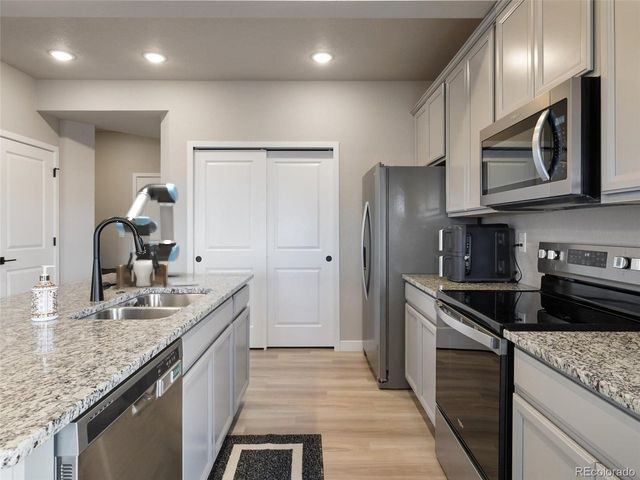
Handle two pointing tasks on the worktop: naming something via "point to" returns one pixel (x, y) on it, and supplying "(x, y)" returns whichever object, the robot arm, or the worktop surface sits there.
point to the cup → (143, 272)
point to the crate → (125, 277)
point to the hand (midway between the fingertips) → (143, 280)
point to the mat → (185, 283)
